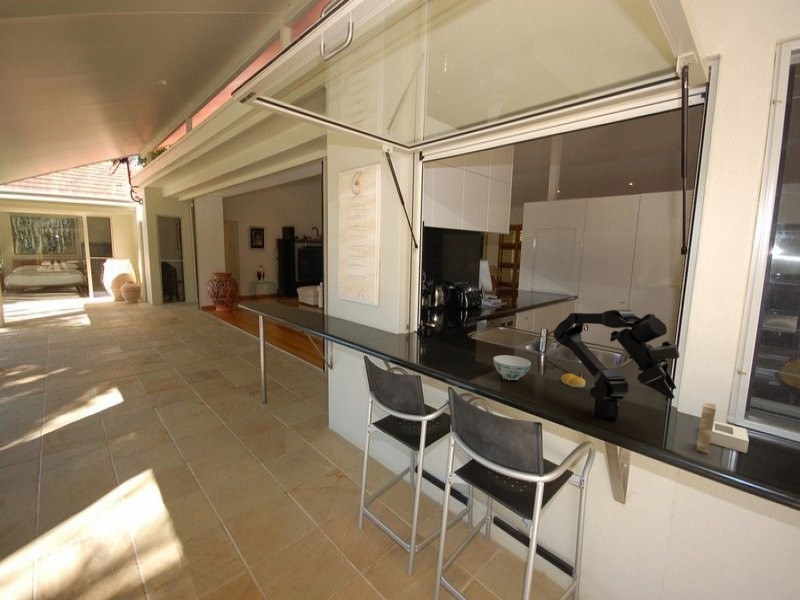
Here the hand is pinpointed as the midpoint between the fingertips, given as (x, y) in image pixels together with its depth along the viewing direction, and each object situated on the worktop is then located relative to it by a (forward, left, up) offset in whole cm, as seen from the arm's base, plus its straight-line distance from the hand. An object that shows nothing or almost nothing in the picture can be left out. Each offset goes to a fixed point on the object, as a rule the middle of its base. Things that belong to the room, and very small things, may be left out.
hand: (673, 393), depth 103 cm
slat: (+8, -2, -13) cm, 16 cm away
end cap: (+14, +8, -13) cm, 21 cm away
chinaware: (-51, +23, -14) cm, 58 cm away
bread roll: (-28, +33, -14) cm, 46 cm away
